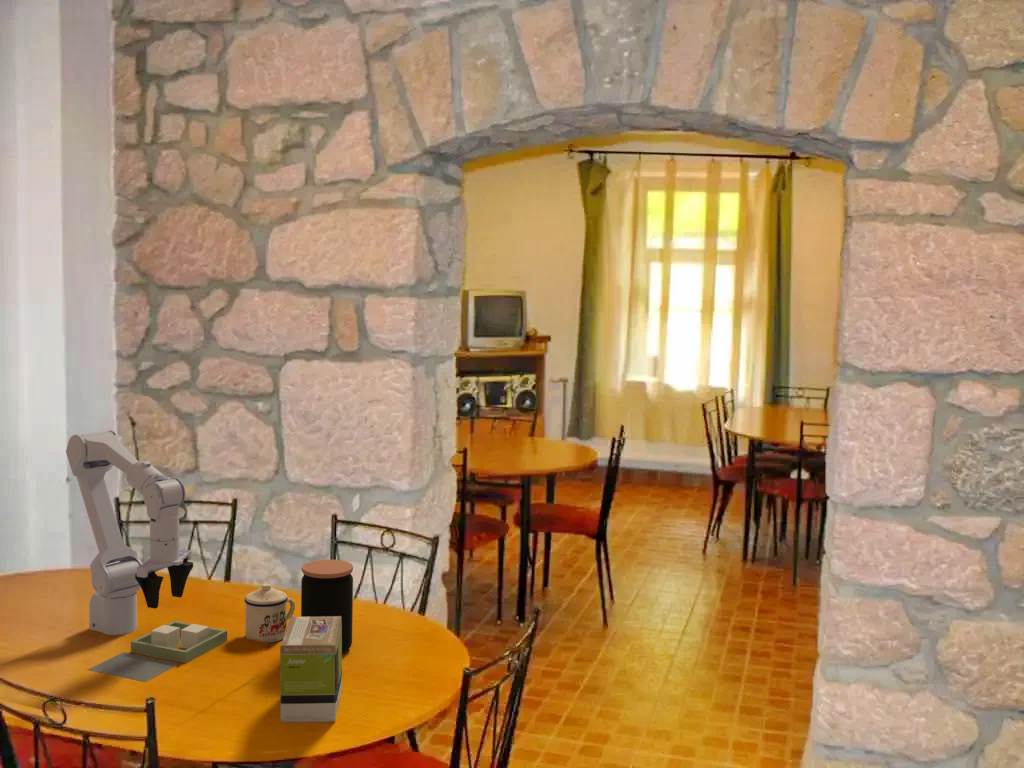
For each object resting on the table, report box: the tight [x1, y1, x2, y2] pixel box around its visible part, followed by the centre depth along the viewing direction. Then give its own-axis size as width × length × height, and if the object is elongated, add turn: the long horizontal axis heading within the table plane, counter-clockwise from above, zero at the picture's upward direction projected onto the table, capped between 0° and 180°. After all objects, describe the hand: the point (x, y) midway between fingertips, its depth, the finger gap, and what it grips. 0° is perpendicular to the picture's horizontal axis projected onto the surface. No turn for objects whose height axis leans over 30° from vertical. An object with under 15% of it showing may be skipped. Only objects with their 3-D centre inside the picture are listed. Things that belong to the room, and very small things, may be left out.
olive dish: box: [130, 620, 228, 664], centre depth 214 cm, size 14×14×3 cm
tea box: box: [279, 615, 343, 723], centre depth 189 cm, size 15×10×15 cm
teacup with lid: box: [244, 583, 296, 644], centre depth 223 cm, size 12×9×12 cm
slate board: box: [87, 651, 181, 683], centre depth 203 cm, size 14×10×1 cm
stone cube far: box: [180, 623, 210, 650], centre depth 214 cm, size 4×4×4 cm
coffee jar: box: [300, 559, 354, 655], centre depth 216 cm, size 11×11×18 cm
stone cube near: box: [150, 624, 181, 649], centre depth 213 cm, size 4×4×4 cm
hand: (165, 601), depth 212 cm, fingers open, 7 cm apart
